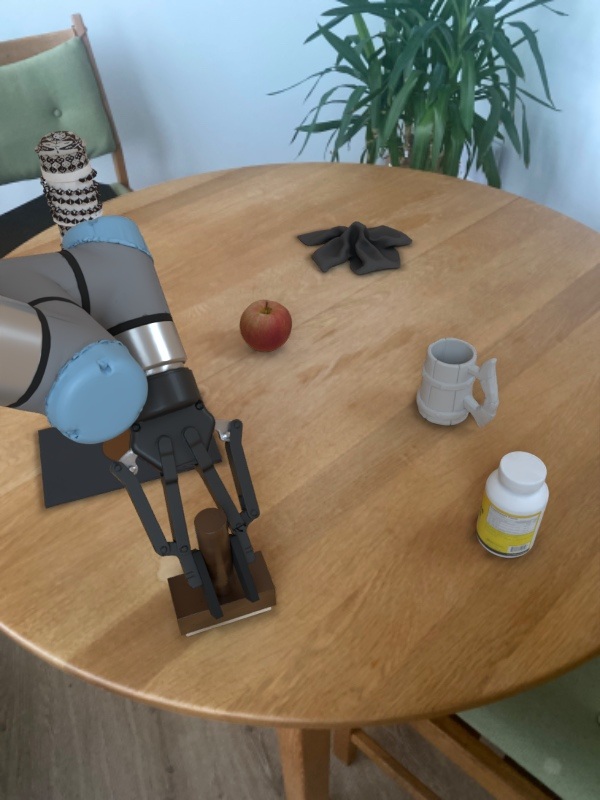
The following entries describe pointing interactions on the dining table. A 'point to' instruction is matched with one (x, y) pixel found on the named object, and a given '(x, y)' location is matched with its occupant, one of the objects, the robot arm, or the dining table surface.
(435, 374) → the mug
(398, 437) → the dining table surface
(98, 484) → the stain mat
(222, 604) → the scrub brush
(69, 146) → the decorative candle
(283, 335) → the apple
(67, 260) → the robot arm
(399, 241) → the cloth
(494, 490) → the pill bottle
